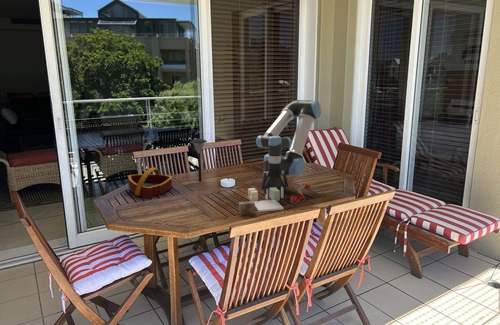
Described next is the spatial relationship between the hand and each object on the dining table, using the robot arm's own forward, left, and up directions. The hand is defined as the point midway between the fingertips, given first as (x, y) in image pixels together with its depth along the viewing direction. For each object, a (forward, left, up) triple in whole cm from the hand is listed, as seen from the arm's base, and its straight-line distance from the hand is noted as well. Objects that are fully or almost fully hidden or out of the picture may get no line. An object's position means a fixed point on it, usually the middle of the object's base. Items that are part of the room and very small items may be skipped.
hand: (274, 198), depth 224 cm
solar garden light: (-53, -39, 0) cm, 66 cm away
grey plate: (+12, -8, 0) cm, 14 cm away
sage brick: (0, 0, 0) cm, 0 cm away
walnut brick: (+19, -22, 0) cm, 29 cm away
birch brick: (-2, -13, 0) cm, 13 cm away
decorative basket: (-40, -74, -1) cm, 84 cm away
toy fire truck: (+9, +13, -1) cm, 16 cm away
